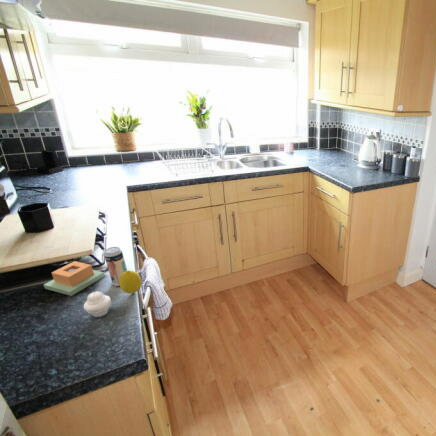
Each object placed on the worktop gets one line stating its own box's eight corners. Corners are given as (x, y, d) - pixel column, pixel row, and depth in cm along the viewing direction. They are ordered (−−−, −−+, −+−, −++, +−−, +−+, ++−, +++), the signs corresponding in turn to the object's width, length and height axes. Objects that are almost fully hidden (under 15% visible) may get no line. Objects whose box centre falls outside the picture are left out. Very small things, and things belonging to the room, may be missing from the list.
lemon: (147, 292, 98) (141, 269, 94) (128, 301, 93) (122, 278, 90) (138, 285, 100) (132, 263, 97) (119, 294, 96) (112, 272, 93)
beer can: (111, 281, 102) (101, 249, 97) (128, 276, 105) (119, 244, 100) (114, 289, 99) (104, 255, 94) (131, 283, 101) (122, 250, 97)
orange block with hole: (72, 286, 97) (68, 277, 95) (54, 282, 98) (51, 272, 97) (94, 274, 103) (91, 264, 102) (77, 270, 105) (74, 261, 103)
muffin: (84, 313, 88) (76, 293, 85) (109, 303, 92) (103, 283, 90) (91, 324, 84) (84, 303, 82) (117, 312, 89) (111, 292, 86)
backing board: (71, 296, 95) (66, 283, 93) (44, 288, 98) (39, 276, 96) (105, 276, 105) (101, 264, 103) (79, 270, 107) (76, 258, 106)
